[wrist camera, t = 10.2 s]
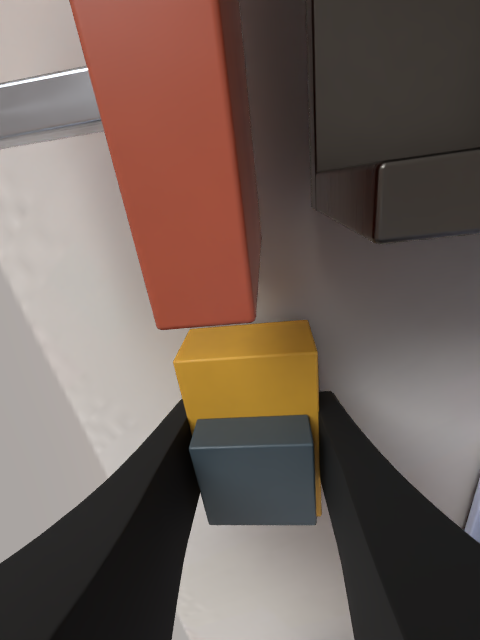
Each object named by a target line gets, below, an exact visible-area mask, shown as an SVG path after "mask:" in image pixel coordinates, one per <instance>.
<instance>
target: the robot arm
mask: <svg viewBox="0 0 480 640" xmlns="http://www.w3.org/2000/svg"><path fill="white" fill-rule="evenodd" d="M318 419H319V459H320V480H321V484H322V488H323V492H324V495H325V499H326V503H327V507H328V511H329V515H330V519H331V523H332V527H333V530H334V534H335V538H336V542H337V546H338V551H339V555H340V560H341V564H342V570H343V575H344V581H345V587H346V592H347V598H348V604H349V610H350V615H351V621H352V627H353V633H354V639H355V640H480V479H479V482H478V486H477V489H476V493H475V496H474V499H473V503H472V506H471V510H470V513H469V517H468V520H467V523H466V527H465V530H463V529H461V528H460V527H459V526H458V525H456V524H455V523H454V522H453V521H451V520H450V519H449V518H448V517H447V516H446V515H445V514H443V513H442V512H441V511H440V510H439V509H438V508H437V507H435V506H434V505H433V504H432V503H431V502H430V501H429V500H428V499H426V498H425V497H424V496H423V495H422V494H421V493H420V492H419V491H418V490H417V489H416V488H415V487H414V486H413V485H411V484H410V483H409V482H408V481H407V480H406V479H405V478H404V477H403V476H402V475H401V474H400V473H399V472H398V471H397V470H396V469H395V468H394V467H393V466H392V465H391V463H390V462H389V461H388V460H387V459H386V458H385V457H384V456H383V455H382V454H381V453H380V452H379V451H378V449H377V448H376V447H375V446H374V445H373V444H372V443H371V442H370V440H369V439H368V438H367V437H366V436H365V434H364V433H363V432H362V431H361V430H360V429H359V427H358V426H357V425H356V424H355V422H354V421H353V420H352V418H351V417H350V416H349V415H348V413H347V412H346V411H345V409H344V408H343V406H342V405H341V404H340V402H339V401H338V399H337V398H336V396H335V395H334V393H332V392H331V391H323V392H319V412H318ZM191 439H192V434H191V430H190V426H189V422H188V418H187V414H186V411H185V407H184V403H183V399H181V400H180V401H179V402H178V404H177V405H176V406H175V407H174V408H173V409H172V410H171V412H170V413H169V414H168V415H167V416H166V417H165V419H164V420H163V421H162V422H161V423H160V424H159V426H158V427H157V428H156V429H155V430H154V431H153V432H152V434H151V435H150V436H149V437H148V438H147V439H146V440H145V441H144V442H143V444H142V445H141V446H140V447H139V448H138V449H137V450H136V451H135V452H134V453H133V454H132V455H131V456H130V457H129V458H128V459H127V460H126V461H125V462H124V463H123V464H122V466H121V467H120V468H119V469H118V470H117V471H116V472H115V473H113V474H112V475H111V476H110V477H109V478H108V479H107V480H106V481H105V482H104V483H103V484H102V485H101V486H99V487H98V488H97V489H96V490H95V491H94V492H93V493H92V494H91V495H89V496H88V497H87V498H86V499H85V500H84V501H82V502H81V503H80V504H79V505H78V506H77V507H75V508H74V509H73V510H71V511H70V512H69V513H67V514H66V515H65V516H64V517H62V518H61V519H60V520H59V521H57V522H56V523H55V524H54V525H52V526H51V527H50V528H49V529H47V530H46V531H45V532H44V533H42V534H41V535H40V536H38V537H37V538H36V539H34V540H33V541H32V542H30V543H29V544H27V545H26V546H25V547H23V548H22V549H20V550H19V551H18V552H16V553H15V554H13V555H12V556H10V557H9V558H8V559H6V560H5V561H3V562H2V563H0V640H171V639H172V632H173V626H174V618H175V612H176V605H177V599H178V593H179V586H180V580H181V574H182V568H183V562H184V557H185V552H186V548H187V543H188V539H189V535H190V531H191V527H192V523H193V519H194V515H195V511H196V507H197V503H198V499H199V495H200V489H199V485H198V481H197V478H196V474H195V470H194V466H193V463H192V459H191V455H190V452H189V446H190V442H191Z"/></svg>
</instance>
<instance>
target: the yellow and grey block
mask: <svg viewBox="0 0 480 640" xmlns="http://www.w3.org/2000/svg"><path fill="white" fill-rule="evenodd" d="M173 364H174V368H175V372H176V375H177V379H178V383H179V387H180V391H181V395H182V399H183V403H184V407H185V411H186V414H187V418H188V422H189V426H190V430H191V434H192V439H191V442H190V446H189V452H190V455H191V459H192V463H193V466H194V470H195V474H196V478H197V481H198V485H199V489H200V493H201V496H202V500H203V504H204V507H205V511H206V515H207V519H208V522H209V524H210V525H316V523H317V517H316V516H321V514H322V509H321V480H320V459H319V419H318V412H319V379H318V352H317V348H316V345H315V342H314V338H313V335H312V332H311V328H310V325H309V322H308V320H296V321H284V322H271V323H259V324H247V325H234V326H222V327H209V328H197V329H190V330H189V332H188V334H187V336H186V338H185V340H184V342H183V344H182V345H181V347H180V349H179V351H178V353H177V355H176V357H175V359H174V361H173Z"/></svg>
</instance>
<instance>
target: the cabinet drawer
mask: <svg viewBox="0 0 480 640" xmlns="http://www.w3.org/2000/svg"><path fill="white" fill-rule="evenodd" d="M69 1H70V5H71V8H72V12H73V16H74V20H75V23H76V27H77V31H78V35H79V38H80V42H81V46H82V50H83V53H84V57H85V61H86V64H87V66H83V67H78V68H73V69H68V70H63V71H58V72H53V73H48V74H43V75H38V76H33V77H28V78H23V79H18V80H13V81H8V82H3V83H0V149H4V148H10V147H16V146H22V145H28V144H34V143H39V142H45V141H51V140H57V139H63V138H69V137H75V136H80V135H86V134H92V133H98V132H105V135H106V139H107V143H108V147H109V150H110V154H111V158H112V162H113V165H114V169H115V173H116V177H117V180H118V184H119V188H120V192H121V195H122V199H123V203H124V206H125V210H126V214H127V218H128V221H129V225H130V229H131V233H132V236H133V240H134V244H135V248H136V251H137V255H138V259H139V263H140V266H141V270H142V274H143V277H144V281H145V285H146V289H147V292H148V296H149V300H150V304H151V307H152V311H153V315H154V319H155V322H156V326H157V328H158V329H160V330H168V329H180V328H192V327H204V326H217V325H229V324H241V323H251V322H253V321H255V318H256V310H257V296H258V282H259V268H260V254H261V240H262V237H261V226H260V216H259V205H258V195H257V184H256V174H255V163H254V153H253V142H252V132H251V121H250V111H249V100H248V90H247V79H246V69H245V58H244V48H243V37H242V27H241V16H240V6H239V0H69ZM306 28H307V65H308V102H309V139H310V175H311V207H312V208H313V209H315V210H317V211H319V212H321V213H323V214H325V215H326V216H328V217H330V218H332V219H333V220H335V221H337V222H338V223H340V224H342V225H344V226H345V227H347V228H349V229H351V230H352V231H354V232H356V233H358V234H359V235H361V236H363V237H365V238H366V239H368V240H370V241H372V242H373V243H376V244H386V243H396V242H405V241H414V240H423V239H432V238H442V237H451V236H460V235H469V234H479V233H480V0H306Z"/></svg>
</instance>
